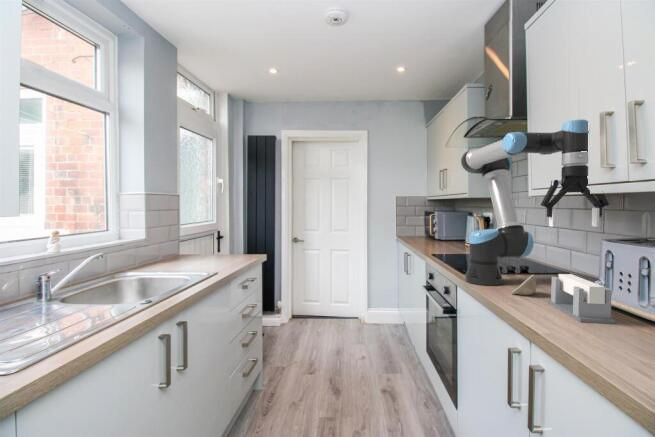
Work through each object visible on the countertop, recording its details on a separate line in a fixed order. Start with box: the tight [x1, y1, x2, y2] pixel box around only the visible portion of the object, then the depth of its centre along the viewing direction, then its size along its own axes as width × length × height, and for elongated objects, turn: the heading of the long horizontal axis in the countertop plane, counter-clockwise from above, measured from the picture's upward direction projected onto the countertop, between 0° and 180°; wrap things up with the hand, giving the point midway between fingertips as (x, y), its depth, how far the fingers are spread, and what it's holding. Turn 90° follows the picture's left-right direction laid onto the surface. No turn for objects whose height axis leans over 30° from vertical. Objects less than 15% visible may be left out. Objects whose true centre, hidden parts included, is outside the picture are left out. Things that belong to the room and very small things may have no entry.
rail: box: [558, 273, 606, 304], centre depth 106 cm, size 18×4×5 cm, turn 170°
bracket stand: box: [547, 276, 616, 325], centre depth 107 cm, size 20×9×10 cm, turn 170°
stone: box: [510, 274, 537, 296], centre depth 129 cm, size 10×7×10 cm
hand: (573, 226), depth 117 cm, fingers open, 13 cm apart
